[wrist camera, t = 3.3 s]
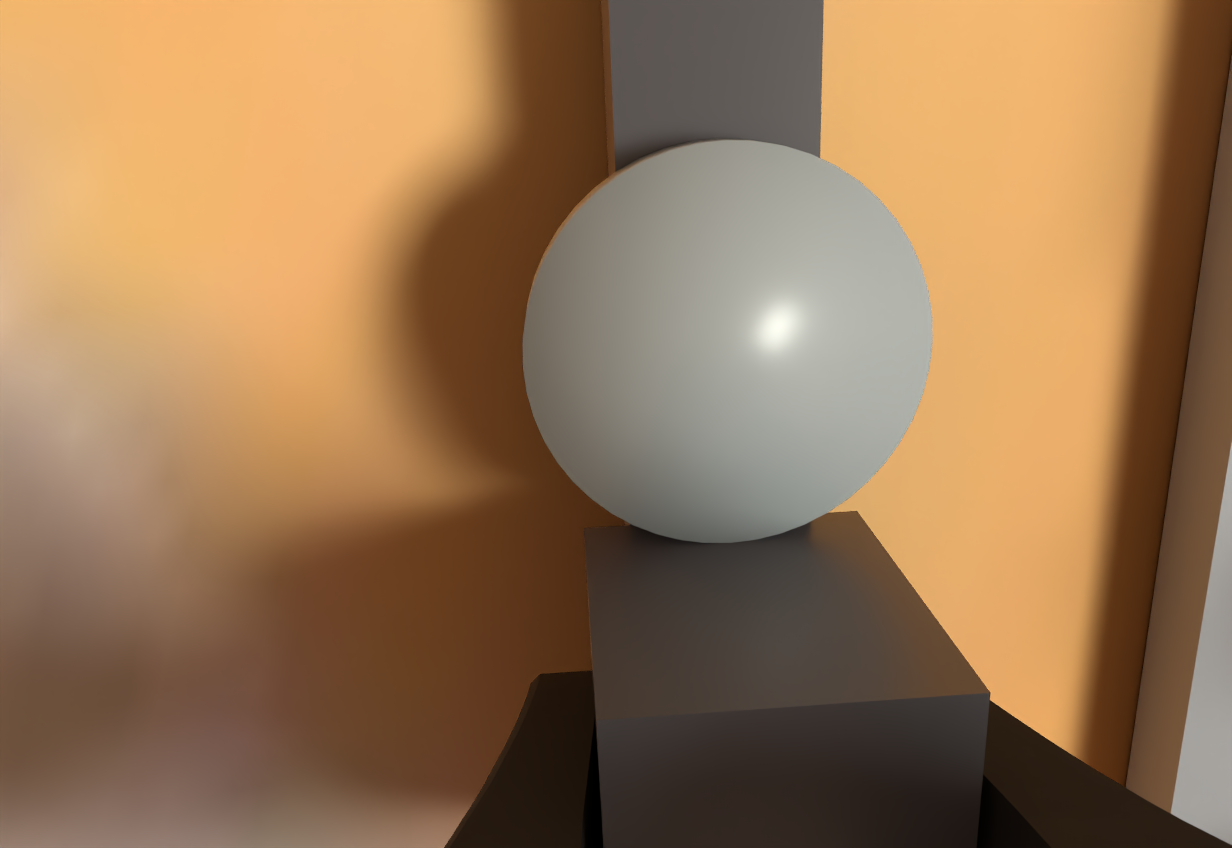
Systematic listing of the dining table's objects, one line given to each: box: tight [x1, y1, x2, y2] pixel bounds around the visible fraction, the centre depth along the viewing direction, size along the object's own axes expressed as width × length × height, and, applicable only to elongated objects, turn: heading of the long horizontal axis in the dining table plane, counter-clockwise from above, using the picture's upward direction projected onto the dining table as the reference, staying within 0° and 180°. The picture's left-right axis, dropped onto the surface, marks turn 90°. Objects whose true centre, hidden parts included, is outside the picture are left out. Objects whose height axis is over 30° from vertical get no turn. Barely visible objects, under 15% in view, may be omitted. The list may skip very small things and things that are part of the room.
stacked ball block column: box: [523, 0, 990, 848], centre depth 11 cm, size 17×4×5 cm, turn 2°
